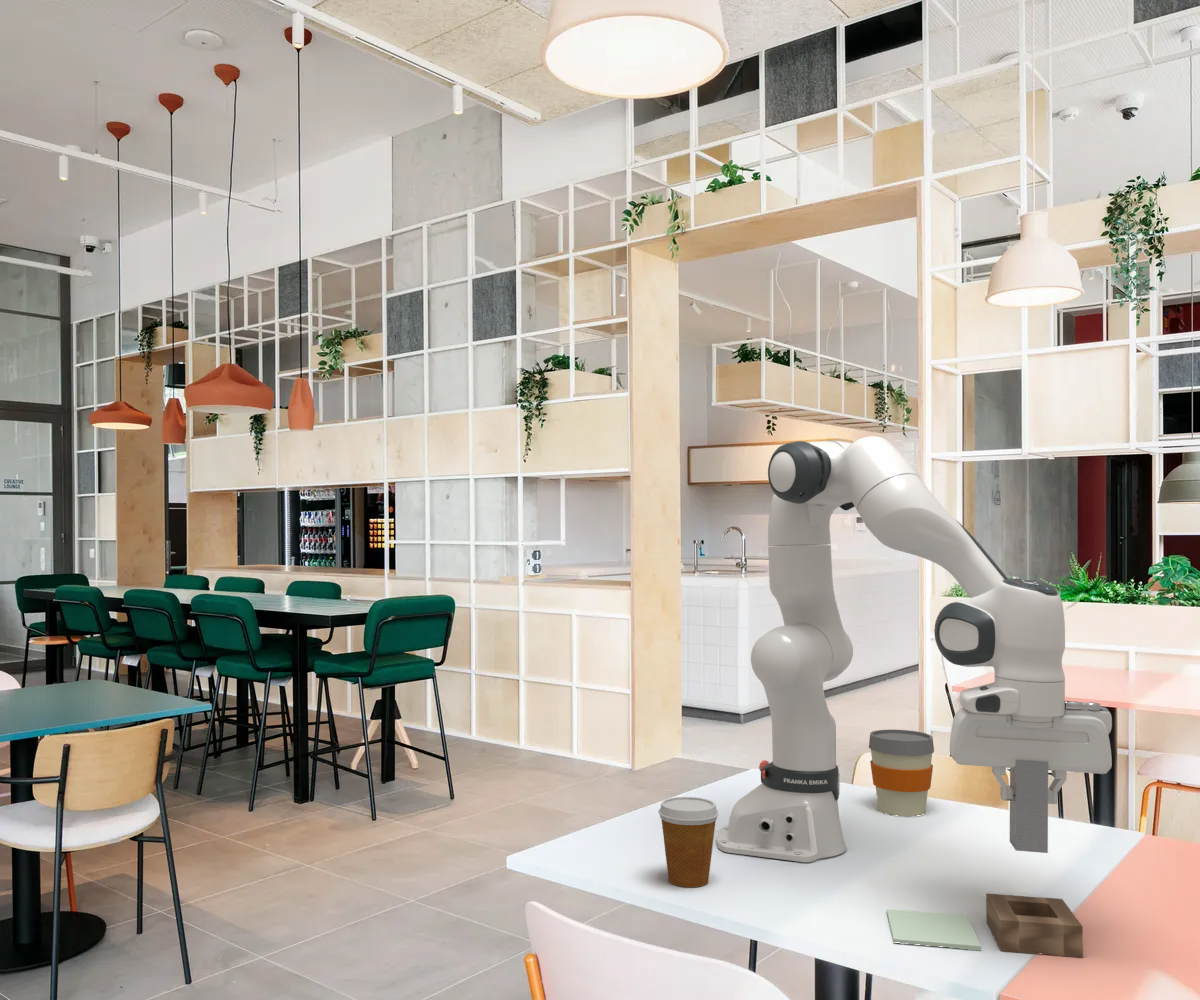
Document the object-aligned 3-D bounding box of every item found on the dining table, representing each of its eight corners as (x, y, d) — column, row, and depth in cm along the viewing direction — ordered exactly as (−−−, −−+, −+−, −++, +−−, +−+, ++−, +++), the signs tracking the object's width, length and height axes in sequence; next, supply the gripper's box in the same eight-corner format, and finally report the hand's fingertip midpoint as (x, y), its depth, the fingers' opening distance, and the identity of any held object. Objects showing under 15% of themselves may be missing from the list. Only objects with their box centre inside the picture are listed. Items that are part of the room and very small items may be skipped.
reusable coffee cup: (944, 810, 197) (944, 734, 197) (918, 823, 187) (918, 744, 188) (885, 799, 205) (885, 726, 206) (858, 811, 196) (857, 735, 196)
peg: (1015, 850, 132) (1016, 760, 132) (1009, 841, 135) (1010, 753, 136) (1047, 853, 131) (1048, 762, 131) (1040, 843, 135) (1041, 755, 135)
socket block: (1000, 951, 128) (1000, 919, 129) (986, 922, 138) (986, 893, 138) (1082, 957, 126) (1082, 926, 127) (1062, 928, 136) (1062, 898, 136)
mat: (893, 943, 131) (893, 939, 131) (886, 913, 141) (886, 909, 141) (981, 950, 128) (981, 946, 128) (967, 919, 139) (967, 915, 139)
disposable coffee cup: (654, 871, 159) (654, 796, 159) (712, 870, 160) (712, 795, 160) (662, 892, 149) (663, 812, 150) (724, 890, 150) (724, 811, 151)
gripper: (1104, 699, 135) (1104, 800, 134) (948, 691, 139) (947, 789, 138) (1119, 707, 129) (1118, 813, 128) (955, 698, 133) (954, 801, 132)
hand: (1028, 801), depth 133 cm, fingers closed on peg, 4 cm apart
